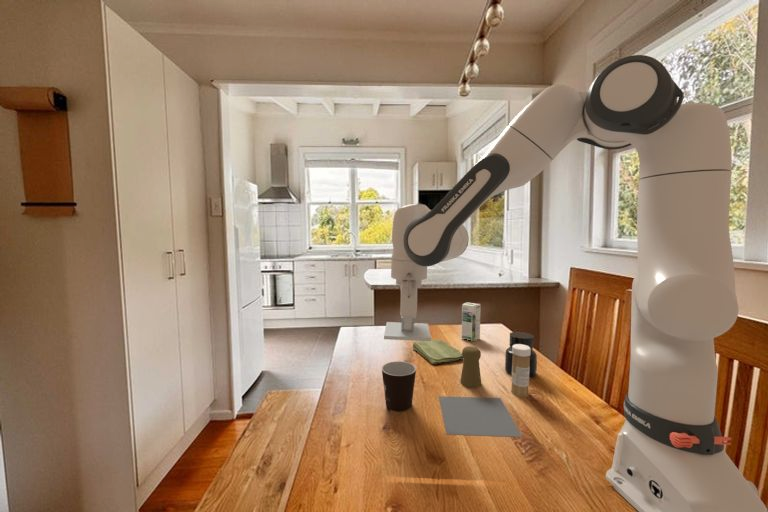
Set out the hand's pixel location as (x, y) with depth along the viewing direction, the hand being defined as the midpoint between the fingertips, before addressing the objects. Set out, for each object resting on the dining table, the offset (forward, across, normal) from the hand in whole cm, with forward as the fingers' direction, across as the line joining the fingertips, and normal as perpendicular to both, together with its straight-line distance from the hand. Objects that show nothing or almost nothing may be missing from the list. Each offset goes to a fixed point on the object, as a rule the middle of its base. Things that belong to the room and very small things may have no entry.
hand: (407, 325), depth 81 cm
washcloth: (+21, +34, -11) cm, 42 cm away
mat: (+20, -5, -17) cm, 27 cm away
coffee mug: (+21, 0, +1) cm, 21 cm away
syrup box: (+21, +51, -26) cm, 61 cm away
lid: (+2, 0, 0) cm, 2 cm away
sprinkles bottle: (+20, +6, -31) cm, 37 cm away
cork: (+20, +11, -19) cm, 30 cm away
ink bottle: (+20, +20, -36) cm, 46 cm away
